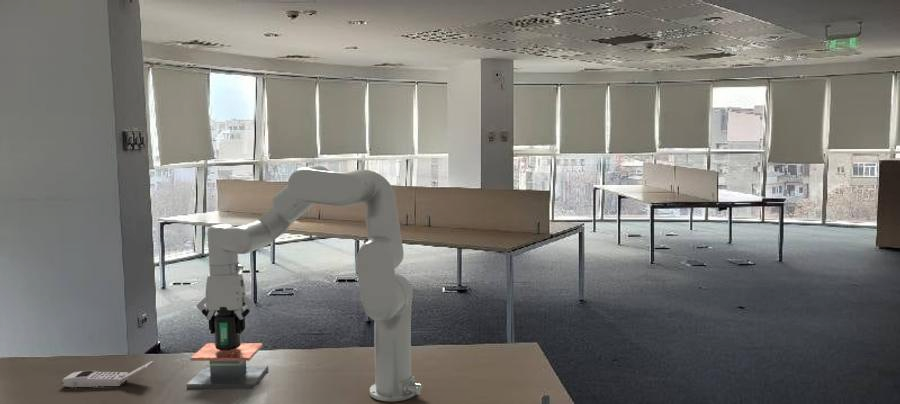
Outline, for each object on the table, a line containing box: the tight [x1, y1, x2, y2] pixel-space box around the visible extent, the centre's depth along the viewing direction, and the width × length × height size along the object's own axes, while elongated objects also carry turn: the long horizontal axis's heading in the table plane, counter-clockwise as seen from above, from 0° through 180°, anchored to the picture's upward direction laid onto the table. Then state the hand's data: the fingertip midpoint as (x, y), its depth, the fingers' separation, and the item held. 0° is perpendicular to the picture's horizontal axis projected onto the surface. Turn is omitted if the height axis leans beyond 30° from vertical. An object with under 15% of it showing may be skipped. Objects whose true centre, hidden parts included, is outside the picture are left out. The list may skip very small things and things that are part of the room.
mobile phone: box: [62, 359, 155, 388], centre depth 185 cm, size 6×6×25 cm
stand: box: [186, 342, 269, 390], centre depth 188 cm, size 18×14×8 cm
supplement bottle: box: [213, 307, 242, 350], centre depth 186 cm, size 7×7×12 cm
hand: (227, 331), depth 187 cm, fingers closed on supplement bottle, 6 cm apart
